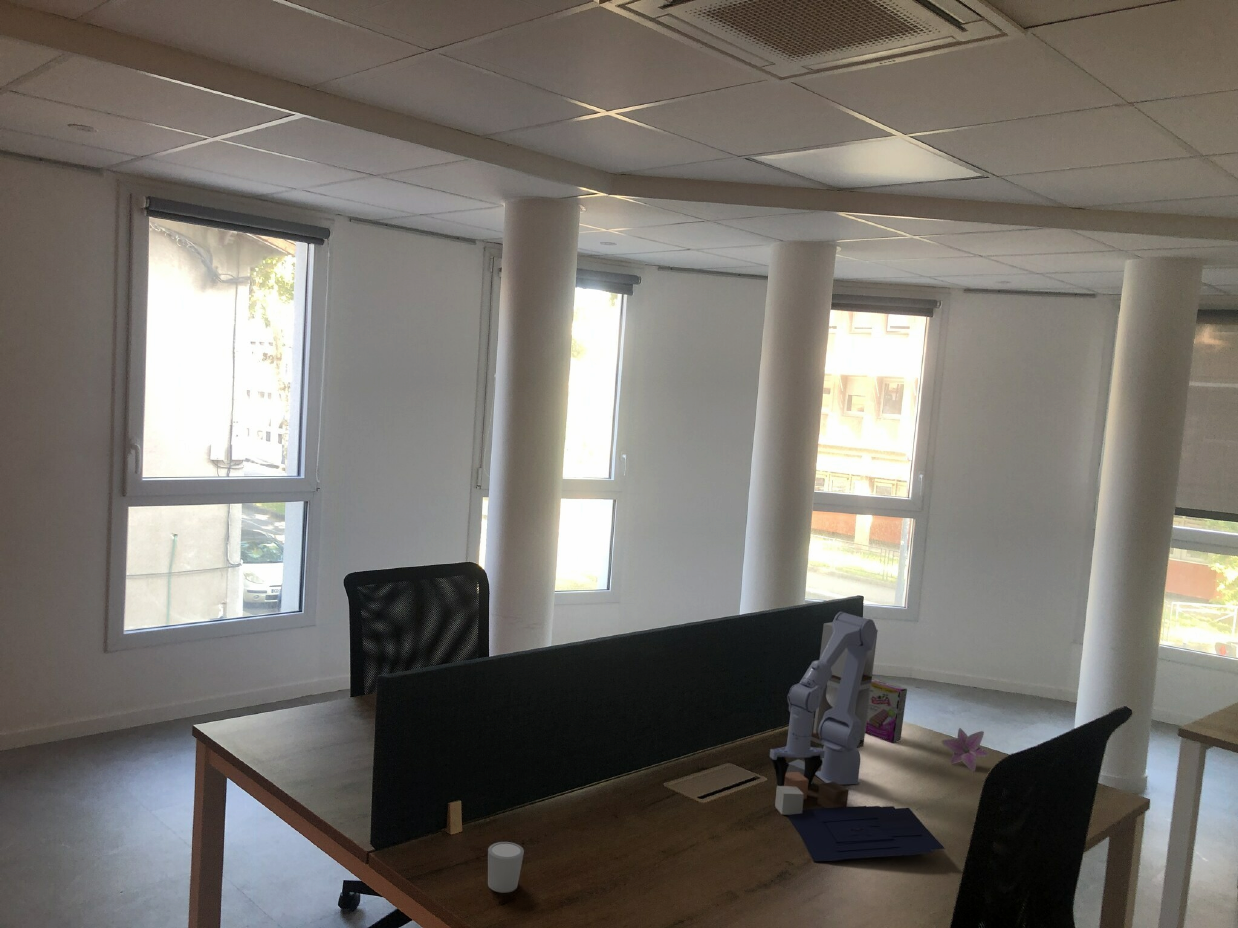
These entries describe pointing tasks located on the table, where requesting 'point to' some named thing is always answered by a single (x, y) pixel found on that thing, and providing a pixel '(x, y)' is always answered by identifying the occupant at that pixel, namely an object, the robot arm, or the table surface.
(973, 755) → the lily
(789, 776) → the terracotta cube
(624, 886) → the table surface
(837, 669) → the grey elongated piece
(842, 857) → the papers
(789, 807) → the offwhite cube
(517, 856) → the grey cylinder
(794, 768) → the slate cube
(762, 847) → the table surface
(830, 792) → the walnut cube
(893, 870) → the table surface
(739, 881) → the table surface
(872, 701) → the candy bar box
